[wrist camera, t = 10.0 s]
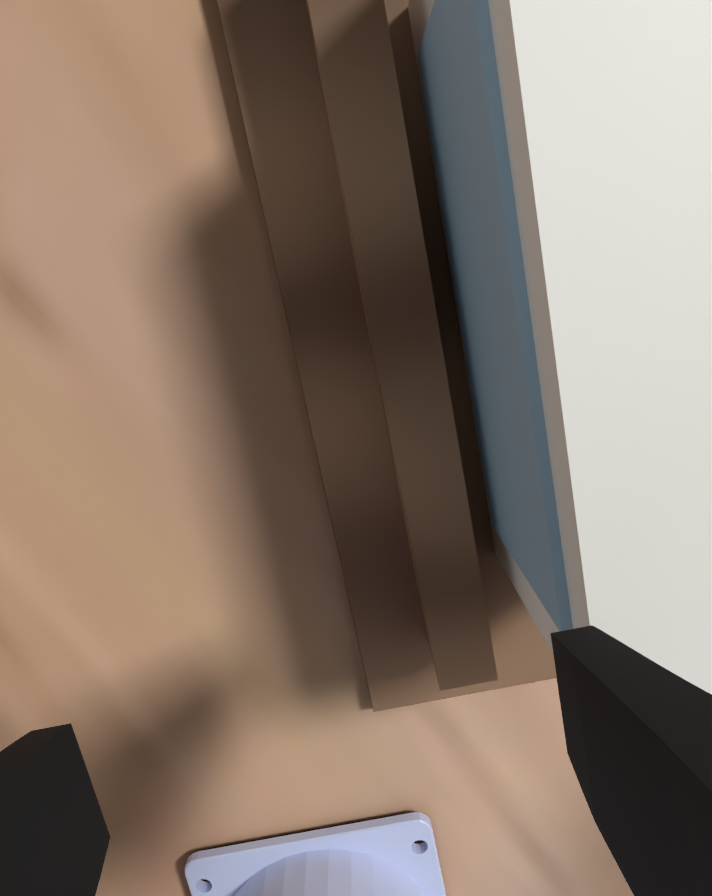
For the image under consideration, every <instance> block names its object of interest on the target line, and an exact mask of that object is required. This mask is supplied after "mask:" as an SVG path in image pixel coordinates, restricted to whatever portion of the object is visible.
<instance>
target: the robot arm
mask: <svg viewBox="0 0 712 896" xmlns="http://www.w3.org/2000/svg"><path fill="white" fill-rule="evenodd" d="M550 634H551V641H552V648H553V655H554V662H555V668H556V675H557V682H558V689H559V696H560V703H561V710H562V717H563V724H564V731H565V738H566V745H567V752H568V755H569V758H570V760H571V763H572V765H573V768H574V770H575V773H576V776H577V778H578V781H579V783H580V786H581V788H582V791H583V793H584V796H585V798H586V801H587V803H588V806H589V808H590V810H591V813H592V815H593V818H594V820H595V822H596V824H597V826H598V828H599V830H600V832H601V834H602V836H603V838H604V840H605V842H606V843H607V845H608V847H609V849H610V851H611V853H612V855H613V857H614V859H615V860H616V862H617V864H618V866H619V868H620V870H621V872H622V874H623V876H624V877H625V879H626V881H627V883H628V885H629V887H630V889H631V891H632V892H633V894H634V896H712V694H710V693H708V692H706V691H704V690H702V689H701V688H699V687H697V686H695V685H693V684H692V683H690V682H688V681H686V680H685V679H683V678H681V677H679V676H677V675H676V674H674V673H672V672H671V671H669V670H667V669H665V668H664V667H662V666H660V665H659V664H657V663H655V662H654V661H652V660H650V659H648V658H647V657H645V656H643V655H642V654H640V653H638V652H637V651H635V650H633V649H632V648H630V647H628V646H627V645H625V644H623V643H622V642H620V641H618V640H617V639H615V638H613V637H612V636H610V635H608V634H607V633H605V632H603V631H602V630H600V629H598V628H596V627H594V626H592V625H591V626H586V627H580V628H575V629H570V630H565V631H559V632H554V633H550ZM109 839H110V835H109V832H108V829H107V826H106V823H105V820H104V818H103V815H102V812H101V809H100V806H99V803H98V800H97V797H96V794H95V792H94V789H93V786H92V783H91V780H90V777H89V774H88V771H87V768H86V766H85V763H84V760H83V757H82V754H81V751H80V748H79V745H78V742H77V740H76V737H75V734H74V731H73V728H72V725H71V724H66V725H61V726H55V727H50V728H45V729H39V730H34V731H31V732H29V733H28V734H26V735H24V736H23V737H21V738H20V739H18V740H17V741H15V742H14V743H12V744H11V745H9V746H8V747H7V748H5V749H4V750H2V751H1V752H0V896H95V893H96V890H97V886H98V883H99V879H100V876H101V872H102V867H103V863H104V859H105V855H106V851H107V847H108V843H109ZM417 840H423V841H424V842H423V843H420V844H415V843H414V842H415V841H417ZM185 877H186V880H187V883H188V886H189V889H190V892H191V896H446V892H445V888H444V883H443V878H442V873H441V868H440V863H439V859H438V854H437V849H436V844H435V839H434V834H433V830H432V825H431V821H430V819H429V818H428V817H427V816H426V815H425V814H422V813H419V812H412V813H407V814H401V815H396V816H390V817H385V818H379V819H374V820H368V821H363V822H357V823H352V824H346V825H341V826H335V827H330V828H324V829H319V830H313V831H308V832H302V833H297V834H291V835H286V836H280V837H275V838H269V839H264V840H258V841H253V842H247V843H242V844H236V845H231V846H225V847H220V848H214V849H209V850H203V851H198V852H195V853H193V854H191V855H190V856H189V857H188V860H187V862H186V866H185ZM201 879H206V880H208V881H209V882H204V881H202V880H201Z"/></svg>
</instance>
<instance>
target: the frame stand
mask: <svg viewBox="0 0 712 896" xmlns="http://www.w3.org/2000/svg"><path fill="white" fill-rule="evenodd" d="M408 3H409V0H217V4H218V9H219V13H220V18H221V22H222V27H223V31H224V36H225V40H226V45H227V49H228V54H229V59H230V63H231V68H232V72H233V77H234V81H235V86H236V90H237V95H238V99H239V104H240V108H241V113H242V117H243V122H244V126H245V131H246V135H247V140H248V145H249V149H250V154H251V158H252V163H253V167H254V172H255V176H256V181H257V185H258V190H259V194H260V199H261V203H262V208H263V212H264V217H265V222H266V226H267V231H268V235H269V240H270V244H271V249H272V253H273V258H274V262H275V267H276V271H277V276H278V280H279V285H280V289H281V294H282V298H283V303H284V308H285V312H286V317H287V321H288V326H289V330H290V335H291V339H292V344H293V348H294V353H295V357H296V362H297V366H298V371H299V375H300V380H301V384H302V389H303V394H304V398H305V403H306V407H307V412H308V416H309V421H310V425H311V430H312V434H313V439H314V443H315V448H316V452H317V457H318V461H319V466H320V471H321V475H322V480H323V484H324V489H325V493H326V498H327V502H328V507H329V511H330V516H331V520H332V525H333V529H334V534H335V538H336V543H337V547H338V552H339V557H340V561H341V566H342V570H343V575H344V579H345V584H346V588H347V593H348V597H349V602H350V606H351V611H352V615H353V620H354V624H355V629H356V633H357V638H358V643H359V647H360V652H361V656H362V661H363V665H364V670H365V674H366V679H367V683H368V688H369V692H370V697H371V701H372V706H373V710H374V712H375V711H381V710H386V709H391V708H397V707H402V706H407V705H413V704H418V703H423V702H429V701H434V700H440V699H445V698H450V697H456V696H461V695H466V694H472V693H477V692H483V691H488V690H493V689H499V688H504V687H509V686H515V685H520V684H525V683H531V682H536V681H542V680H547V679H552V678H557V675H556V668H555V662H554V655H553V654H552V652H551V650H550V648H549V647H548V645H547V643H546V641H545V640H544V638H543V636H542V634H541V633H540V631H539V629H538V627H537V626H536V624H535V622H534V620H533V619H532V617H531V615H530V614H529V612H528V610H527V608H526V607H525V605H524V603H523V601H522V600H521V598H520V596H519V594H518V593H517V591H516V589H515V587H514V586H513V584H512V582H511V580H510V579H509V577H508V575H507V574H506V572H505V570H504V568H503V567H502V565H501V563H500V561H499V560H498V558H497V556H496V553H495V546H494V540H493V534H492V528H491V522H490V515H489V509H488V503H487V497H486V490H485V484H484V478H483V472H482V466H481V459H480V453H479V447H478V441H477V435H476V428H475V422H474V416H473V410H472V404H471V397H470V391H469V385H468V379H467V372H466V366H465V360H464V354H463V348H462V341H461V335H460V329H459V323H458V317H457V310H456V304H455V298H454V292H453V286H452V279H451V273H450V267H449V261H448V254H447V248H446V242H445V236H444V230H443V223H442V217H441V211H440V205H439V199H438V192H437V186H436V180H435V174H434V168H433V161H432V155H431V149H430V143H429V136H428V130H427V124H426V118H425V112H424V105H423V99H422V93H421V87H420V81H419V74H418V68H417V62H416V56H415V49H414V43H413V37H412V31H411V25H410V18H409V12H408Z"/></svg>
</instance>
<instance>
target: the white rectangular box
mask: <svg viewBox="0 0 712 896" xmlns="http://www.w3.org/2000/svg"><path fill="white" fill-rule="evenodd" d="M408 12H409V18H410V25H411V31H412V37H413V43H414V49H415V56H416V62H417V68H418V74H419V81H420V87H421V93H422V99H423V105H424V112H425V118H426V124H427V130H428V136H429V143H430V149H431V155H432V161H433V168H434V174H435V180H436V186H437V192H438V199H439V205H440V211H441V217H442V223H443V230H444V236H445V242H446V248H447V254H448V261H449V267H450V273H451V279H452V286H453V292H454V298H455V304H456V310H457V317H458V323H459V329H460V335H461V341H462V348H463V354H464V360H465V366H466V372H467V379H468V385H469V391H470V397H471V404H472V410H473V416H474V422H475V428H476V435H477V441H478V447H479V453H480V459H481V466H482V472H483V478H484V484H485V490H486V497H487V503H488V509H489V515H490V522H491V528H492V534H493V540H494V546H495V553H496V556H497V558H498V560H499V561H500V563H501V565H502V567H503V568H504V570H505V572H506V574H507V575H508V577H509V579H510V580H511V582H512V584H513V586H514V587H515V589H516V591H517V593H518V594H519V596H520V598H521V600H522V601H523V603H524V605H525V607H526V608H527V610H528V612H529V614H530V615H531V617H532V619H533V620H534V622H535V624H536V626H537V627H538V629H539V631H540V633H541V634H542V636H543V638H544V640H545V641H546V643H547V645H548V647H549V648H550V650H551V652H552V654H553V648H552V641H551V634H550V633H554V632H559V631H565V630H570V629H575V628H580V627H586V626H591V625H592V626H594V627H596V628H598V629H600V630H602V631H603V632H605V633H607V634H608V635H610V636H612V637H613V638H615V639H617V640H618V641H620V642H622V643H623V644H625V645H627V646H628V647H630V648H632V649H633V650H635V651H637V652H638V653H640V654H642V655H643V656H645V657H647V658H648V659H650V660H652V661H654V662H655V663H657V664H659V665H660V666H662V667H664V668H665V669H667V670H669V671H671V672H672V673H674V674H676V675H677V676H679V677H681V678H683V679H685V680H686V681H688V682H690V683H692V684H693V685H695V686H697V687H699V688H701V689H702V690H704V691H706V692H708V693H710V694H712V0H409V3H408Z"/></svg>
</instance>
